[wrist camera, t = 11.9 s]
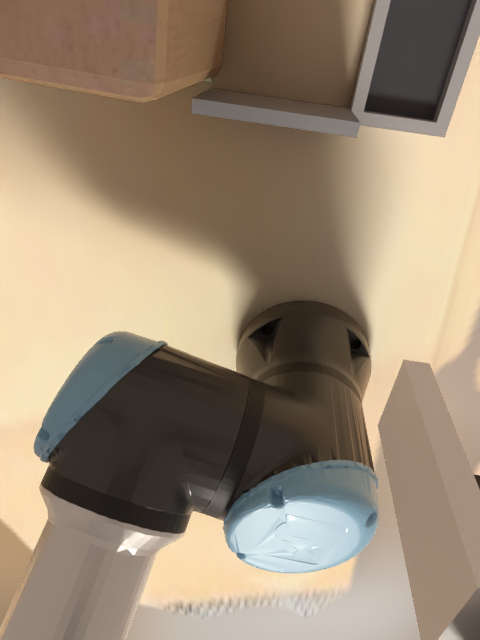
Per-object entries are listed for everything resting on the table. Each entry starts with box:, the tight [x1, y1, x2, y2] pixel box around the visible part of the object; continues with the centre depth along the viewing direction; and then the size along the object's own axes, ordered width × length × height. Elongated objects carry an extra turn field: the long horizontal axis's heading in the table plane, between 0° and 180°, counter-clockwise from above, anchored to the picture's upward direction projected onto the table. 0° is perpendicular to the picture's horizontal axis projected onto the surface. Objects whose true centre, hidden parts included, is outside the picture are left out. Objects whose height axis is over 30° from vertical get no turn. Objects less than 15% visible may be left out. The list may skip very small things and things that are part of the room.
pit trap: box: [350, 0, 480, 137], centre depth 34 cm, size 16×8×2 cm, turn 174°
